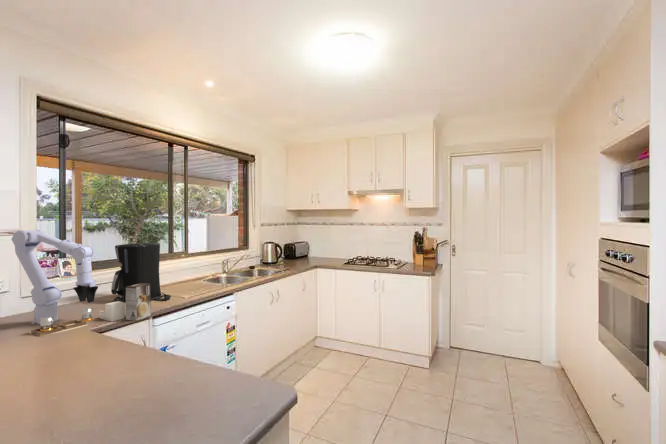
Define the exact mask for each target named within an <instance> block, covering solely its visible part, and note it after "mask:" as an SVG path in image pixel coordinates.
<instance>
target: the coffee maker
mask: <svg viewBox="0 0 666 444" xmlns="http://www.w3.org/2000/svg"><path fill="white" fill-rule="evenodd" d="M160 250H161V244H160V243H155V242H138V243H124V244H123V243H122V244H117V245H115V246H114V251H115V256H116V260H117V262H118V263H120V265H121V266H120V267H119V268H120V269H119V270H117V271H115V273H114V275H113V279H112V282H111V283H112V284H111V288H110V289H111V294H112V295H117V297H114V298H113V299H112V300H113V301H115V300H116V301H115V302H117V301H120V302H125V303H126V290H125V287H127V286H131V285H135V284H139V283H145V284H150V292H151V301H154V299H155V301H156V302H157V301H164V302H166V301H168V300H169V299H171V298H172V296H171V295H170V294H166V293H165V292H161V283H160V258H161V257H160V254H161V251H160Z"/></svg>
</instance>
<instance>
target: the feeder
mask: <svg viewBox="0 0 666 444" xmlns="http://www.w3.org/2000/svg"><path fill="white" fill-rule="evenodd" d="M104 305H105V306H104V307H105V309H104V310H99V311H98V315H99V316H98V317H99V319H101V320H104V321H107V322H116V321H120V320H123V319H124V320H125V319H126V302H123V301H113V302H108V303H105V304H104Z"/></svg>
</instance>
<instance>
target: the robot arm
mask: <svg viewBox="0 0 666 444" xmlns="http://www.w3.org/2000/svg"><path fill="white" fill-rule="evenodd" d="M11 241H12V244H13V245H14V251H15V255H16V256H17V259H18V260H19V262H20V264H21V265H22V268H23V270H24V272H25V274H26V275H27V277H28V279H29V281H30V282H31V285H32V286H33V288H32V289H31V291H30V294H31V299H32V303H33V304H34V305H35V307H34V308H33V321H32V322H31V324H38V325H40V318H42V317H46V316H53V323H54V322H57V321H58V320H59V319H58V303H59V300H60V299H61V297H62V291H61V290H60V288H58V287H57V286H56V284H54V283H53V282H50V281H49V280H48V278H47V276H46V273H45V272H44V270H43V268H42V266H41V265H40V263H39V261H38V259H37V257H36V255H35V253H34V250H36V249H37V248H38V245H40V244H41V243H44V244H47V245H50V246H53V247H57V250H58V251H60V252H61V253H63V254H67V255H68V256H71V257H72V258H73V259H74V263H75V269H76V281H75V287H73V291H74V292H75V293H76V294H77V297H78V300H79V302H81V303H82V302H86V301H87V303H94V302H95V297H96V293H97V291H98V288H99V286H98V285H96V280H94V279H93V271H92V270H93V267H92V257H93V254H94V249H93V248H92V247H90V246H89V245H84V246H83V243H82V244H81V243H77V242H74V241H73V240H72V239H63V240H61V239H59V238H57V237H55V236H53V235H51V234H48V233H47V232H45V231H42V230H40V229H33V230H31V229H30V230H22V229H21V230H16V231H15V232H14V233H13V235H12V237H11Z"/></svg>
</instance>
